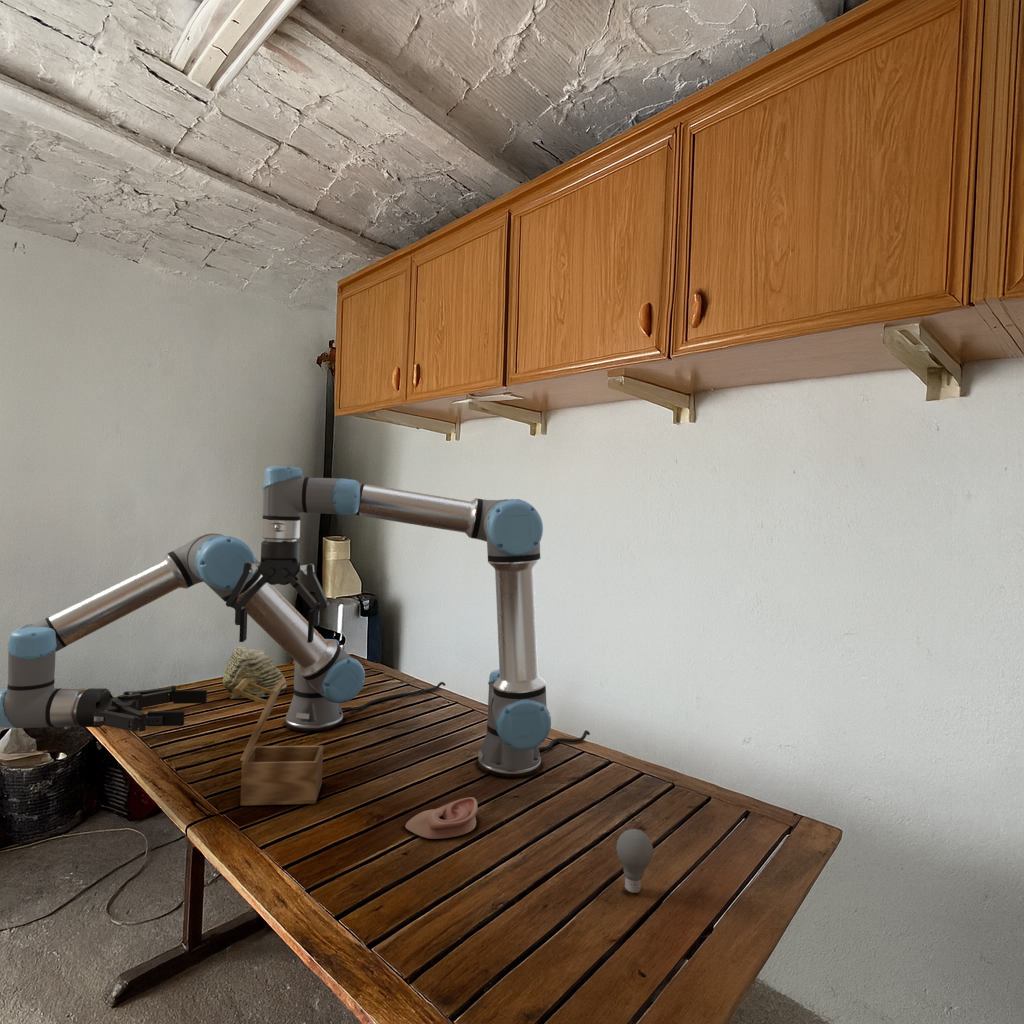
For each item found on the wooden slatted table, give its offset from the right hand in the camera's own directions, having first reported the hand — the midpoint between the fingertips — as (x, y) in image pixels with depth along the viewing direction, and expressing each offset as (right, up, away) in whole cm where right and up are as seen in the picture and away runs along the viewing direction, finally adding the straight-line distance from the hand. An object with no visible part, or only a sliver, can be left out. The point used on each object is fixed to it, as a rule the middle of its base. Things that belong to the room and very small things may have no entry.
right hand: (276, 641), depth 133 cm
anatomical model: (+36, -34, -9) cm, 50 cm away
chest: (+1, -33, +1) cm, 33 cm away
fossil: (-31, -30, +65) cm, 78 cm away
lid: (-2, -16, 0) cm, 17 cm away
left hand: (-16, -13, -2) cm, 21 cm away
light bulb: (+70, -36, -27) cm, 83 cm away
